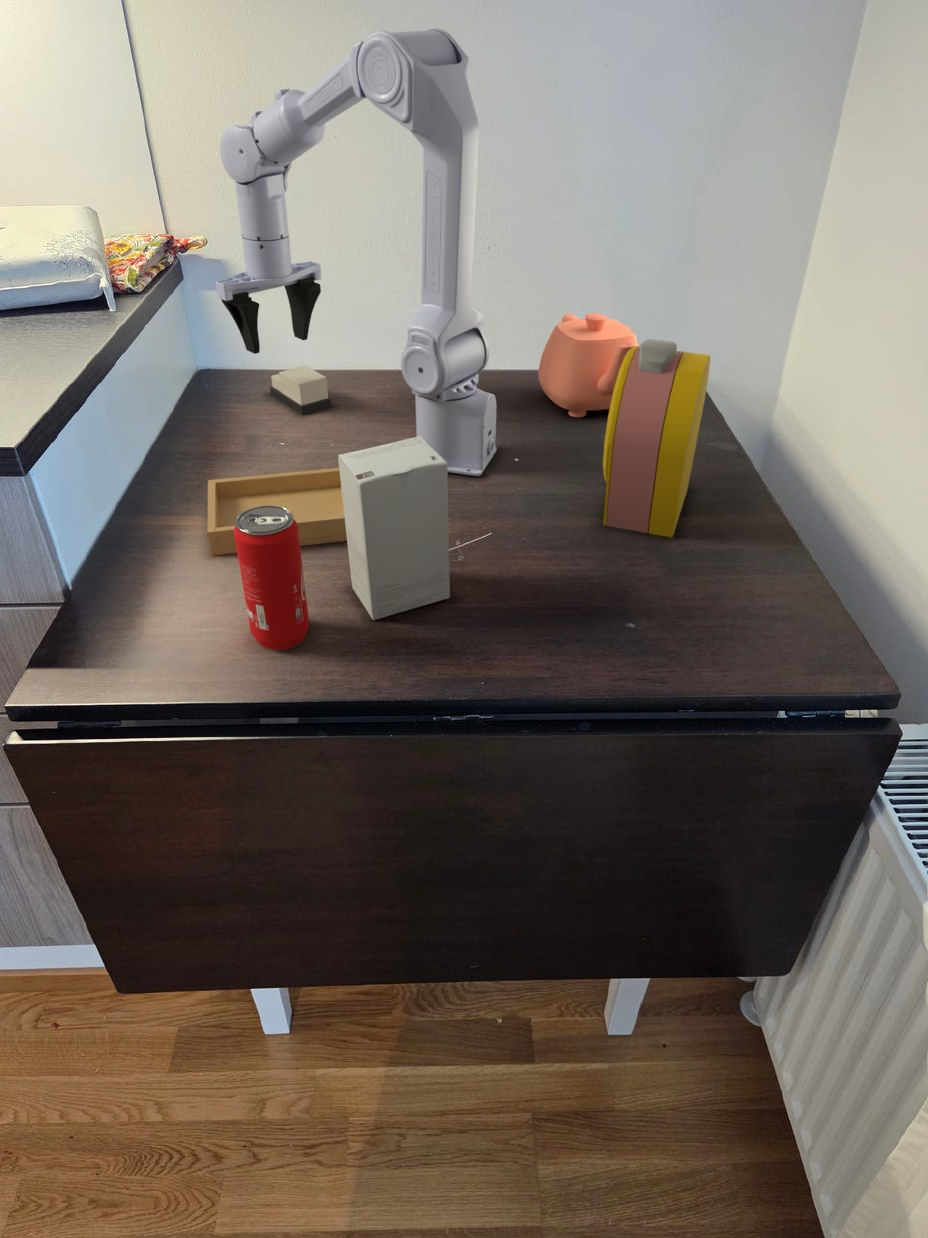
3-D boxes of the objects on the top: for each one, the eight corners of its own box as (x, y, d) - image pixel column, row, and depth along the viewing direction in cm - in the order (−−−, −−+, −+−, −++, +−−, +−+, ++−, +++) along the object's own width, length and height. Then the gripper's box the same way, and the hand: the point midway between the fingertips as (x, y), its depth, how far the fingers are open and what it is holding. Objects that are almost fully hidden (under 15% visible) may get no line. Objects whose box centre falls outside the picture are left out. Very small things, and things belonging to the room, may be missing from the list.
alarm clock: (620, 472, 105) (640, 318, 94) (689, 483, 103) (717, 327, 92) (592, 531, 94) (611, 364, 83) (669, 545, 91) (699, 375, 81)
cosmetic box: (426, 570, 87) (424, 432, 78) (452, 602, 83) (452, 459, 74) (347, 591, 84) (335, 449, 75) (369, 625, 80) (359, 478, 71)
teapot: (575, 440, 112) (584, 346, 105) (519, 384, 128) (523, 299, 120) (667, 427, 116) (682, 336, 108) (602, 374, 131) (610, 291, 124)
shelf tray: (350, 488, 101) (348, 466, 100) (363, 539, 92) (362, 515, 90) (212, 502, 98) (207, 479, 97) (211, 555, 89) (207, 532, 88)
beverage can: (255, 619, 80) (236, 504, 73) (312, 617, 81) (298, 502, 74) (248, 654, 76) (228, 536, 69) (308, 652, 76) (294, 534, 69)
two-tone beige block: (331, 406, 120) (328, 377, 118) (302, 415, 118) (298, 385, 116) (299, 387, 126) (296, 358, 124) (270, 394, 124) (266, 365, 121)
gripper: (294, 220, 114) (304, 325, 122) (196, 238, 106) (213, 349, 114) (327, 230, 110) (335, 338, 118) (227, 250, 102) (243, 363, 110)
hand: (277, 344), depth 116 cm, fingers open, 7 cm apart
